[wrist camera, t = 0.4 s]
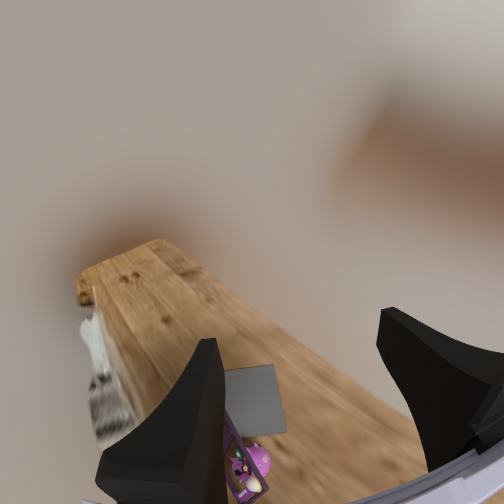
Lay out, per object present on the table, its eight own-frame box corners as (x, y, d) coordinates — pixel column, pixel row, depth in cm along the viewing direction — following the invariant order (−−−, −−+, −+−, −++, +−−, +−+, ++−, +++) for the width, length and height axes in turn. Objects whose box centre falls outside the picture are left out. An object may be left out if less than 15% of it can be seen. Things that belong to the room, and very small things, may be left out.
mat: (287, 431, 25) (286, 430, 25) (180, 441, 25) (179, 440, 25) (273, 365, 33) (273, 364, 33) (182, 375, 33) (182, 374, 32)
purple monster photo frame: (209, 402, 22) (256, 493, 15) (262, 392, 25) (313, 470, 18) (198, 436, 25) (234, 511, 18) (243, 426, 27) (283, 493, 21)
